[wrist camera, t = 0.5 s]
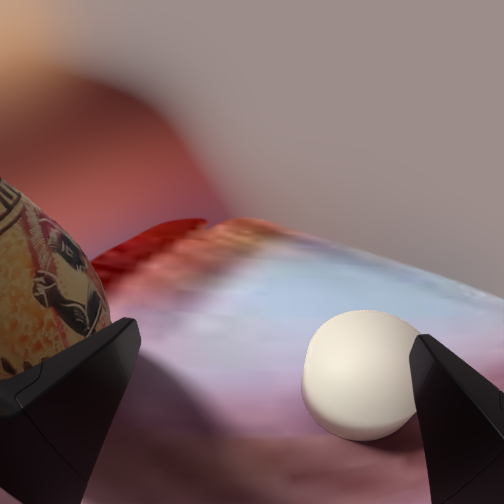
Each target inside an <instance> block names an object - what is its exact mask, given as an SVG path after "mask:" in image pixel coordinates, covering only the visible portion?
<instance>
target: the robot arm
mask: <svg viewBox="0 0 504 504" xmlns="http://www.w3.org/2000/svg"><path fill="white" fill-rule="evenodd" d="M140 346H141V336H140V332H139V328H138V325H137V321H136V320H135V319H133V318H127V317H124V318H122V319H120V320H118V321H116V322H114V323H112V324H110V325H109V326H107V327H105V328H103V329H101V330H99V331H98V332H96V333H94V334H92V335H90V336H88V337H86V338H85V339H83V340H81V341H79V342H77V343H75V344H74V345H72V346H70V347H68V348H66V349H64V350H63V351H61V352H59V353H57V354H55V355H53V356H51V357H50V358H48V359H46V360H44V361H43V362H40V363H39V364H37V365H35V366H33V367H31V368H29V369H27V370H25V371H23V372H21V373H19V374H17V375H15V376H13V377H10V378H8V379H6V380H4V381H1V382H0V504H81V501H82V498H83V495H84V493H85V490H86V487H87V483H88V481H89V478H90V476H91V473H92V470H93V468H94V465H95V463H96V460H97V457H98V455H99V452H100V450H101V447H102V445H103V442H104V440H105V437H106V435H107V432H108V430H109V427H110V425H111V423H112V420H113V418H114V415H115V413H116V411H117V408H118V406H119V404H120V401H121V399H122V397H123V394H124V392H125V390H126V387H127V385H128V383H129V380H130V377H131V374H132V371H133V367H134V364H135V361H136V358H137V355H138V352H139V349H140ZM409 365H410V372H411V380H412V388H413V396H414V402H415V407H416V411H417V416H418V420H419V425H420V430H421V435H422V441H423V446H424V452H425V458H426V464H427V471H428V478H429V486H430V494H431V503H432V504H504V393H503V392H502V391H499V389H498V388H497V387H496V386H495V385H493V384H492V383H491V382H490V381H488V380H487V379H486V378H485V377H483V376H482V375H481V374H480V373H478V372H477V371H476V370H475V369H473V368H472V367H471V366H470V365H468V364H467V363H466V362H465V361H463V360H462V359H461V358H459V357H458V356H457V355H456V354H454V353H453V352H452V351H450V350H449V349H448V348H446V347H445V346H444V345H443V344H441V343H440V342H439V341H437V340H436V339H435V338H433V337H432V336H431V335H429V334H419V335H417V336H416V338H415V340H414V343H413V346H412V348H411V351H410V354H409Z"/></svg>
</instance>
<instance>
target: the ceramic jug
mask: <svg viewBox="0 0 504 504" xmlns="http://www.w3.org/2000/svg"><path fill="white" fill-rule="evenodd" d="M110 324H112V322H111V320H110V309H109V305H108V302H107V298H106V293H105V291H104V289H103V286H102V283H101V281H100V279H99V277H98V275H97V273H96V272H95V270H94V268H93V266H92V264H91V263H90V261H89V260H88V258H87V256H86V255H85V254H84V253H83V251H82V249H81V248H80V246H79V245H78V244H77V243H76V242H75V241H74V240H73V238H72V237H71V236H70V235H69V233H68V232H67V231H65V230H64V229H63V228H62V227H61V226H60V225H59V224H58V223H57V222H56V221H54V220H53V219H52V218H51V217H50V216H48V215H47V214H46V213H44V212H43V211H42V210H41V209H40V208H39V207H37V206H36V205H35V204H34V203H33V202H31V201H30V200H29V199H28V198H27V197H26V196H24V195H23V194H22V193H21V192H20V191H18V190H17V189H15V188H14V187H13V186H11V185H10V184H9V183H7V182H6V181H5V180H3V179H2V178H0V382H1V381H4V380H6V379H8V378H10V377H13V376H15V375H17V374H19V373H21V372H23V371H25V370H27V369H29V368H31V367H33V366H35V365H37V364H39V363H40V362H43V361H44V360H46V359H48V358H50V357H51V356H53V355H55V354H57V353H59V352H61V351H63V350H64V349H66V348H68V347H70V346H72V345H74V344H75V343H77V342H79V341H81V340H83V339H85V338H86V337H88V336H90V335H92V334H94V333H96V332H98V331H99V330H101V329H103V328H105V327H107V326H109V325H110Z"/></svg>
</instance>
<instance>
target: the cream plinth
mask: <svg viewBox="0 0 504 504" xmlns="http://www.w3.org/2000/svg"><path fill="white" fill-rule="evenodd" d="M419 334H421V333H420V332H419V331H417V330H416V329H415V328H414V327H413V326H412V325H410V324H409V323H407V322H406V321H404V320H402V319H400V318H398V317H396V316H394V315H391V314H388V313H384V312H380V311H374V310H357V311H350V312H346V313H343V314H340V315H337V316H335V317H333V318H331V319H330V320H328V321H327V322H325V323H324V324H323V325H322V326H321V327H320V328H319V329H318V330H317V331H316V333H315V334H314V336H313V337H312V339H311V341H310V344H309V347H308V351H307V355H306V360H305V365H304V370H303V375H302V382H301V390H302V396H303V400H304V403H305V406H306V408H307V410H308V411H309V413H310V414H311V416H312V417H313V419H314V420H315V421H316V422H317V423H318V424H319V425H320V426H322V427H323V428H324V429H326V430H327V431H329V432H330V433H332V434H334V435H336V436H339V437H341V438H345V439H349V440H355V441H370V440H376V439H380V438H383V437H386V436H388V435H390V434H392V433H394V432H395V431H397V430H398V429H399V428H401V427H402V426H403V425H404V424H405V423H406V422H407V421H408V420H409V419H410V418H411V417H412V416H413V415H414V413H415V412H416V407H415V402H414V396H413V388H412V380H411V372H410V365H409V354H410V351H411V348H412V346H413V343H414V340H415V338H416V336H417V335H419Z"/></svg>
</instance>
